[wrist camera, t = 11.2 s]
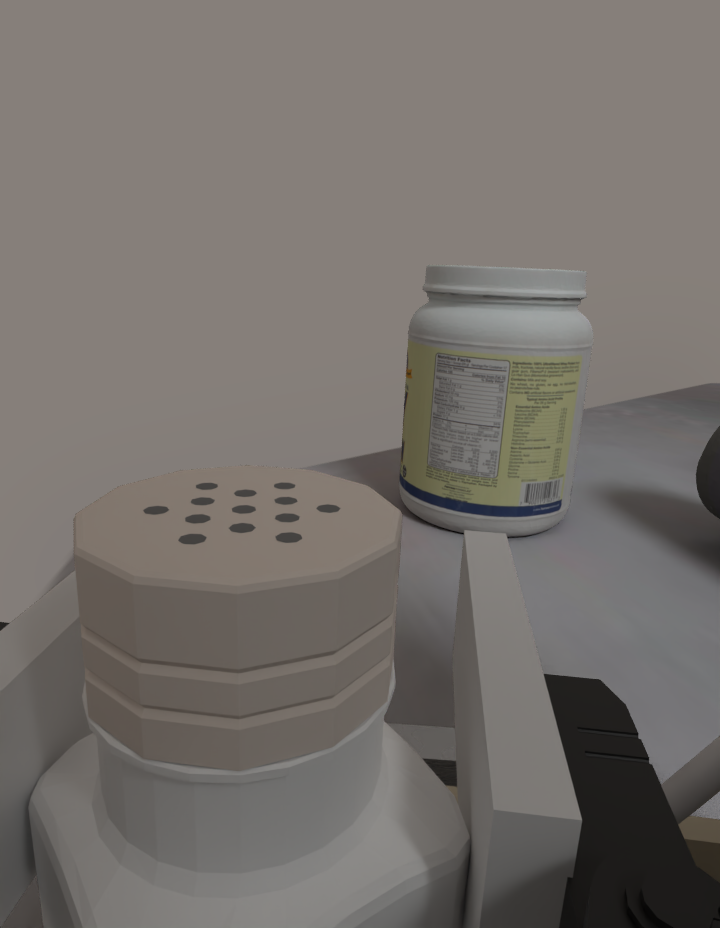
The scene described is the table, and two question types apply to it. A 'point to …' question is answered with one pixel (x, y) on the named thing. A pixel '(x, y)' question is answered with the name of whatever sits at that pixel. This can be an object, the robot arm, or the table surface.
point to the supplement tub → (494, 398)
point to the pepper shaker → (243, 718)
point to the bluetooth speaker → (710, 475)
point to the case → (693, 806)
